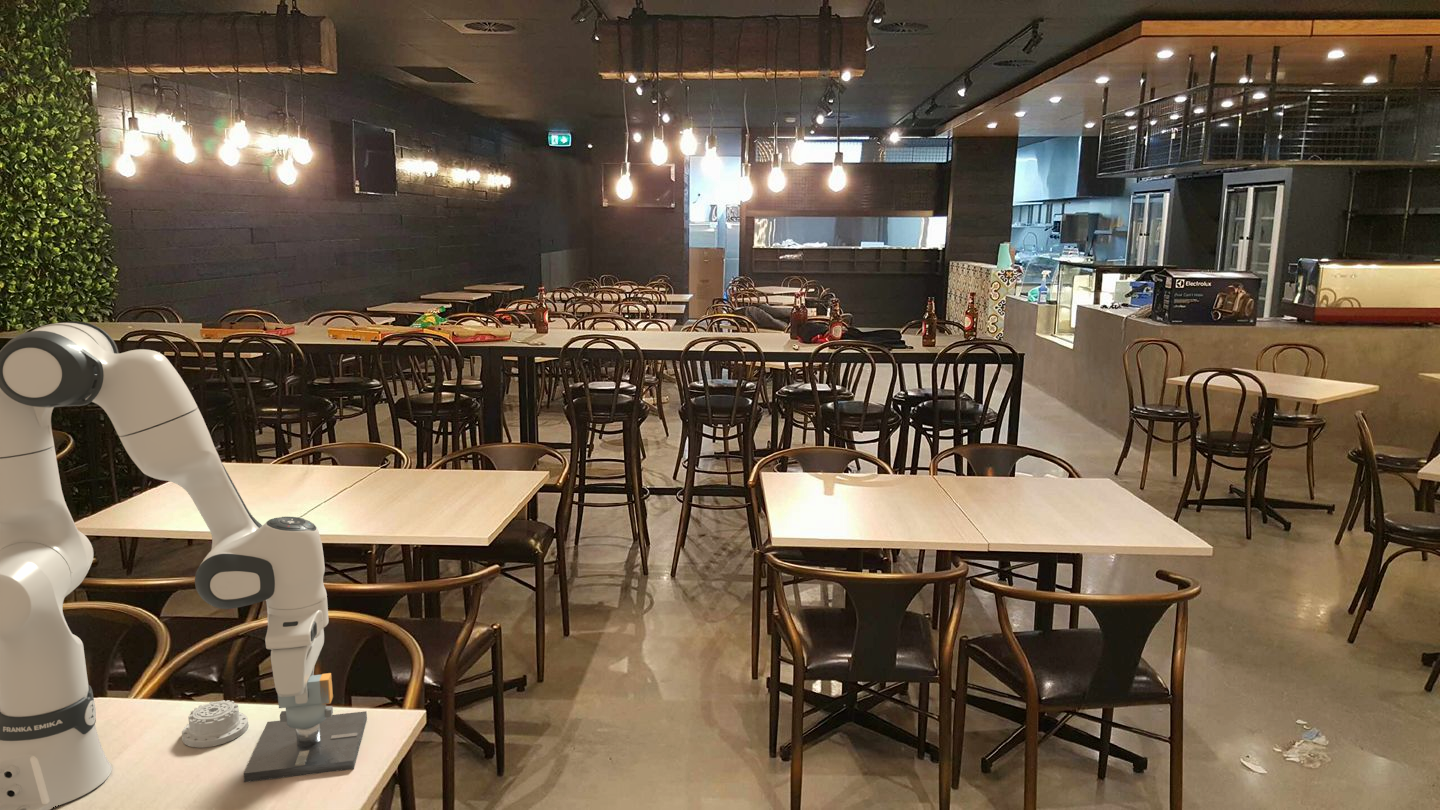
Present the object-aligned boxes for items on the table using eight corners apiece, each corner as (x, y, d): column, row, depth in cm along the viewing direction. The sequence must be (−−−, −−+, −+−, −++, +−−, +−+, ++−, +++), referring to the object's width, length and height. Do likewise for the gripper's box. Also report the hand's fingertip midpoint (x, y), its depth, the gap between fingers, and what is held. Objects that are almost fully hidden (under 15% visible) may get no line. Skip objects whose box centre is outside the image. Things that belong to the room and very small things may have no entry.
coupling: (277, 731, 149) (273, 690, 148) (285, 712, 155) (281, 673, 154) (329, 725, 151) (326, 684, 150) (335, 707, 157) (332, 668, 156)
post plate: (244, 782, 145) (241, 752, 144) (268, 729, 160) (265, 702, 159) (353, 769, 148) (351, 740, 147) (366, 719, 164) (365, 692, 163)
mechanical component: (168, 745, 155) (220, 752, 153) (165, 721, 155) (217, 727, 153) (211, 716, 165) (261, 722, 163) (209, 693, 164) (259, 698, 162)
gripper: (290, 594, 159) (297, 669, 162) (262, 644, 140) (269, 729, 142) (330, 591, 161) (335, 665, 163) (307, 640, 141) (314, 724, 143)
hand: (304, 696), depth 152 cm, fingers closed on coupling, 2 cm apart
